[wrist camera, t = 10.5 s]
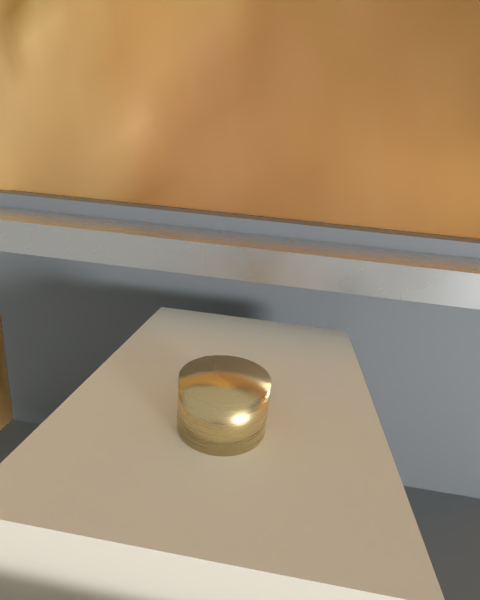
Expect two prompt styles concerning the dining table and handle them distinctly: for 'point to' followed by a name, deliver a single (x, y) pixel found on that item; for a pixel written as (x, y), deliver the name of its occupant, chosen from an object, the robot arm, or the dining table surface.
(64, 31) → the dining table surface
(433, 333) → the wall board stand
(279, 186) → the dining table surface
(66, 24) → the dining table surface
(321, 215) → the dining table surface
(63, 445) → the cabinet block
